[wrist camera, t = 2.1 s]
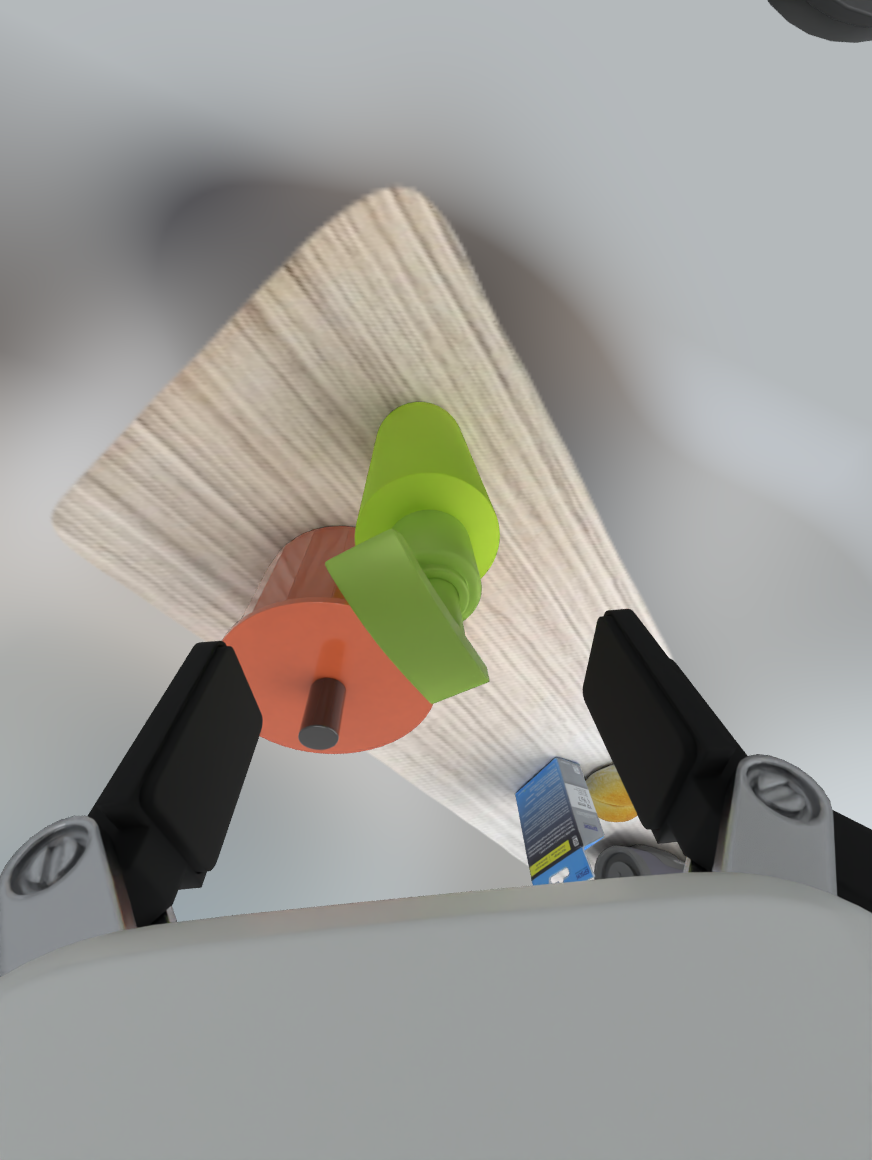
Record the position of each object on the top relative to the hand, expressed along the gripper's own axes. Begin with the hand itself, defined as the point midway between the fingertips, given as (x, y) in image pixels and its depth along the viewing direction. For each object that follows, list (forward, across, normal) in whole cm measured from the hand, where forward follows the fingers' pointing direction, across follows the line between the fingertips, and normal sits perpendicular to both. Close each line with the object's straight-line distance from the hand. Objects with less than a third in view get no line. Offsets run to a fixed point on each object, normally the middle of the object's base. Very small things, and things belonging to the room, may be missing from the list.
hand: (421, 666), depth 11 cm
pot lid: (+11, +6, +12) cm, 17 cm away
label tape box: (+21, -13, +42) cm, 48 cm away
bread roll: (+20, -22, +44) cm, 53 cm away
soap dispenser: (+20, 0, 0) cm, 20 cm away
